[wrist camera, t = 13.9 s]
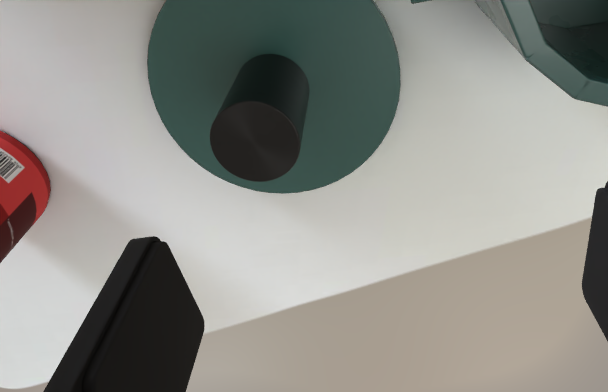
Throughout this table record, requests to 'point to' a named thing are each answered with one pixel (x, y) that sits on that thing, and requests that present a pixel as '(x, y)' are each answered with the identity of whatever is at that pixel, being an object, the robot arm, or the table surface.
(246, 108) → the lid
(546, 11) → the pot
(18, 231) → the canned food
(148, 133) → the table surface
